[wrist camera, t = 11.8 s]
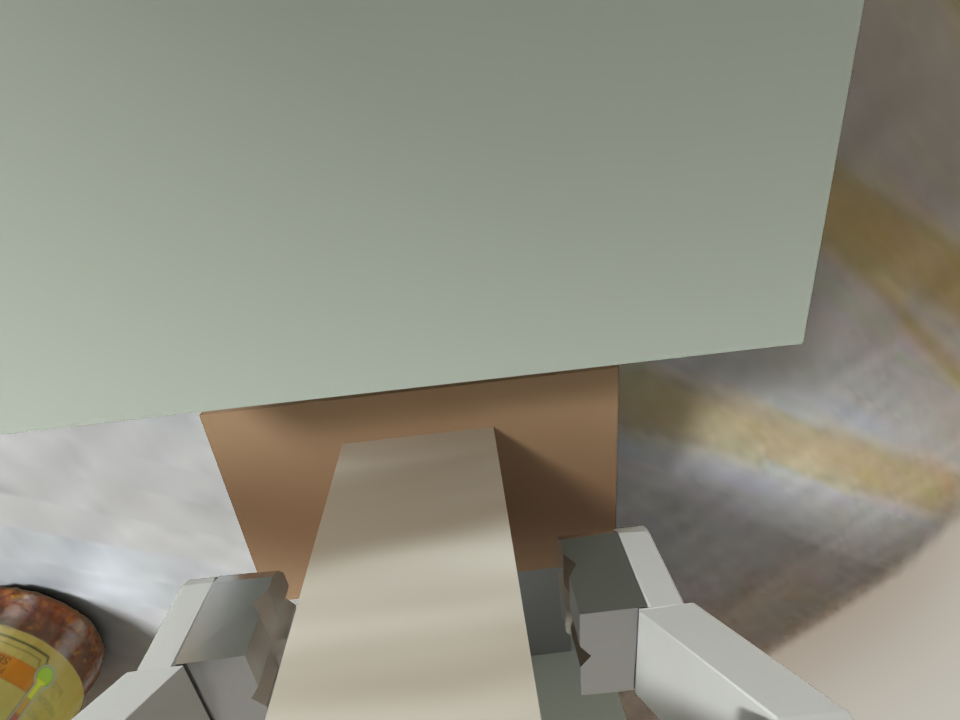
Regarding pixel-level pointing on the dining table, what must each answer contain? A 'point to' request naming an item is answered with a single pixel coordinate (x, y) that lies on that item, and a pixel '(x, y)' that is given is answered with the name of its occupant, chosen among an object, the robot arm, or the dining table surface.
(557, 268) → the rail bench
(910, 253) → the dining table surface
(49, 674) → the sauce bottle
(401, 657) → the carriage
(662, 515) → the dining table surface
